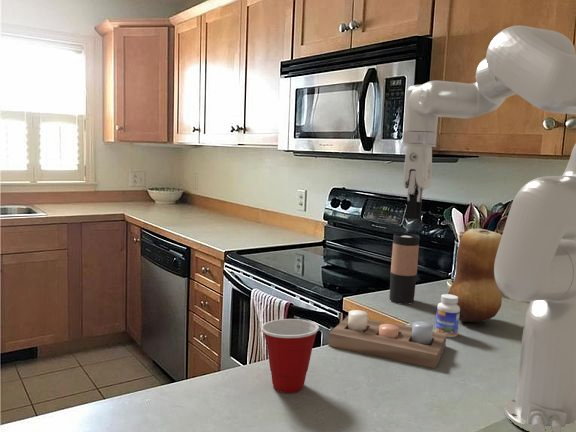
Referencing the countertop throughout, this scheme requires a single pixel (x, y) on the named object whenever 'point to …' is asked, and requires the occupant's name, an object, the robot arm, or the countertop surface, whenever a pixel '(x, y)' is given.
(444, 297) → the pill bottle
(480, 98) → the robot arm
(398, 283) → the travel mug
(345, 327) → the walnut panel
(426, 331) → the slate button
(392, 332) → the terracotta button
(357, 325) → the cream button
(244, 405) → the countertop surface
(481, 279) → the butternut squash
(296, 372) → the plastic cup
